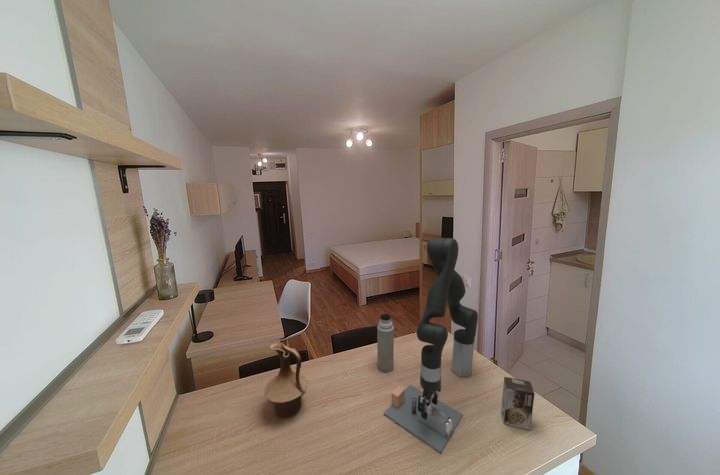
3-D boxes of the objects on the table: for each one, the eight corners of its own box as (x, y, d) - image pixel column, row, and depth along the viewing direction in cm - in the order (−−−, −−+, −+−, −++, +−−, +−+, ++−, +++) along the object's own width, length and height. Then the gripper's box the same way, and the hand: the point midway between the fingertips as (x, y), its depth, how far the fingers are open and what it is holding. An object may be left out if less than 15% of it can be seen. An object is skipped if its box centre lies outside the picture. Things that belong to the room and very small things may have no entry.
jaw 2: (419, 415, 104) (420, 403, 103) (422, 412, 106) (422, 400, 104) (450, 435, 96) (451, 422, 95) (452, 431, 97) (453, 418, 96)
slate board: (409, 386, 120) (409, 384, 120) (462, 415, 105) (462, 414, 105) (383, 414, 106) (383, 412, 106) (440, 454, 90) (440, 452, 90)
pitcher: (317, 399, 114) (314, 340, 108) (292, 432, 99) (287, 366, 93) (285, 386, 121) (281, 331, 115) (257, 416, 106) (250, 354, 100)
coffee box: (526, 416, 104) (530, 381, 101) (530, 431, 98) (535, 393, 95) (500, 410, 107) (504, 375, 104) (503, 424, 101) (507, 387, 98)
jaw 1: (416, 419, 102) (417, 407, 101) (419, 416, 104) (419, 404, 103) (448, 439, 94) (448, 426, 93) (450, 435, 96) (451, 422, 95)
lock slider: (391, 404, 110) (391, 392, 108) (398, 396, 113) (398, 385, 112) (397, 408, 108) (397, 396, 106) (404, 400, 111) (404, 389, 110)
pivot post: (410, 412, 106) (411, 399, 104) (413, 409, 107) (413, 396, 106) (414, 415, 104) (415, 401, 103) (417, 412, 106) (417, 399, 104)
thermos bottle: (393, 362, 136) (394, 312, 130) (392, 373, 128) (393, 320, 123) (378, 361, 138) (378, 311, 132) (376, 371, 130) (376, 319, 124)
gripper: (430, 359, 105) (428, 394, 108) (411, 379, 95) (411, 417, 98) (448, 367, 100) (446, 403, 104) (431, 390, 90) (429, 429, 93)
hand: (429, 410), depth 101 cm, fingers open, 8 cm apart
